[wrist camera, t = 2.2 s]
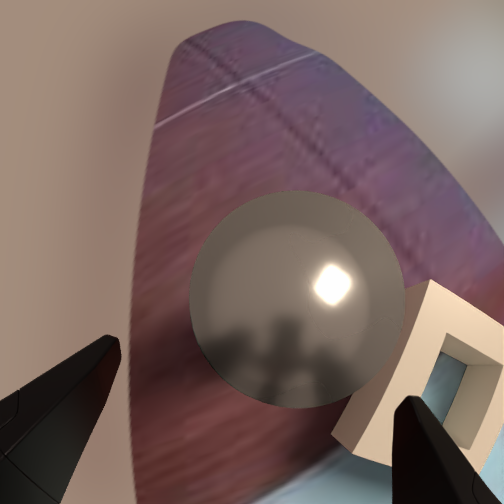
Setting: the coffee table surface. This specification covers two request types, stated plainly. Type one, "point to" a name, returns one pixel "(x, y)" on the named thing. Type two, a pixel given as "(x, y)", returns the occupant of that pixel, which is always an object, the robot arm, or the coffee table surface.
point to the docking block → (419, 370)
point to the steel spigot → (296, 299)
